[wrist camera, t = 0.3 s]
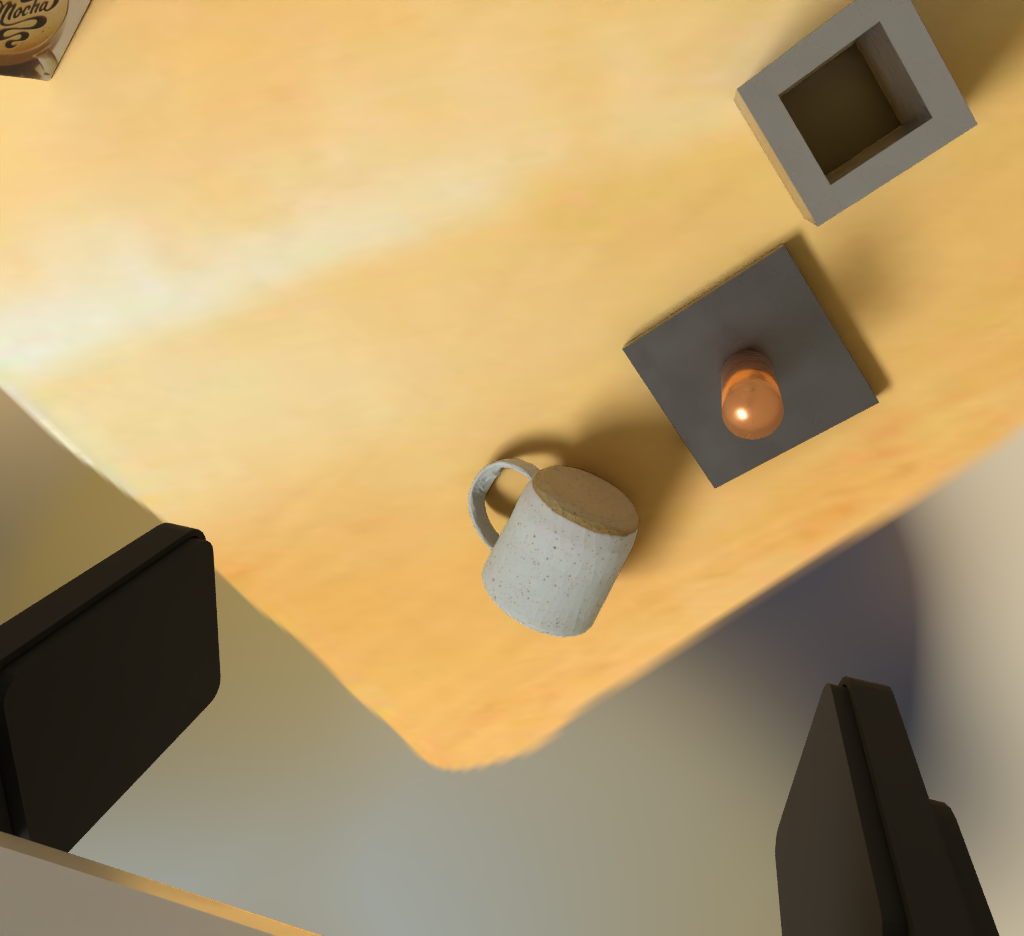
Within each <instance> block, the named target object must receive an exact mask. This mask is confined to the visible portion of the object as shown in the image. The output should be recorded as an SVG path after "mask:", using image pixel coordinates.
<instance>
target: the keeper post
mask: <svg viewBox="0 0 1024 936" xmlns="http://www.w3.org/2000/svg"><path fill="white" fill-rule="evenodd" d="M623 351H624V352H625V354H626V355H627V357H628V358H629V360H630V361H631V363H632V364H633V366H634V367H635V369H636V370H637V372H638V373H639V375H640V376H641V378H642V379H643V381H644V382H645V384H646V385H647V387H648V388H649V390H650V391H651V393H652V395H653V396H654V398H655V399H656V401H657V402H658V404H659V405H660V407H661V408H662V410H663V411H664V413H665V414H666V416H667V417H668V419H669V420H670V422H671V423H672V425H673V426H674V428H675V429H676V431H677V432H678V434H679V435H680V437H681V438H682V440H683V441H684V443H685V444H686V446H687V447H688V449H689V450H690V452H691V453H692V455H693V456H694V458H695V459H696V461H697V462H698V464H699V465H700V467H701V468H702V470H703V471H704V473H705V474H706V476H707V477H708V479H709V480H710V482H711V483H712V485H713V487H714V488H717V487H719V486H721V485H723V484H724V483H726V482H728V481H730V480H732V479H734V478H736V477H738V476H740V475H742V474H744V473H745V472H747V471H749V470H751V469H753V468H755V467H757V466H759V465H761V464H763V463H765V462H766V461H768V460H770V459H772V458H774V457H776V456H778V455H780V454H782V453H784V452H786V451H787V450H789V449H791V448H793V447H795V446H797V445H799V444H801V443H803V442H805V441H807V440H808V439H810V438H812V437H814V436H816V435H818V434H820V433H822V432H824V431H826V430H828V429H829V428H831V427H833V426H835V425H837V424H839V423H841V422H843V421H845V420H847V419H849V418H850V417H852V416H854V415H856V414H858V413H860V412H862V411H864V410H866V409H868V408H870V407H871V406H873V405H875V404H877V403H879V401H878V400H877V398H876V396H875V395H874V393H873V392H872V390H871V388H870V387H869V385H868V383H867V382H866V380H865V378H864V377H863V375H862V373H861V372H860V370H859V368H858V367H857V365H856V363H855V362H854V360H853V358H852V357H851V355H850V353H849V352H848V350H847V348H846V347H845V345H844V344H843V342H842V340H841V339H840V337H839V335H838V334H837V332H836V330H835V329H834V327H833V325H832V324H831V322H830V320H829V319H828V317H827V315H826V314H825V312H824V310H823V309H822V307H821V305H820V304H819V302H818V301H817V299H816V297H815V296H814V294H813V292H812V291H811V289H810V287H809V286H808V284H807V282H806V281H805V279H804V277H803V276H802V274H801V272H800V271H799V269H798V267H797V266H796V264H795V262H794V261H793V259H792V257H791V256H790V254H789V253H788V251H787V249H786V248H785V246H784V245H783V244H781V245H780V246H778V247H777V248H775V249H773V250H772V251H770V252H769V253H767V254H766V255H764V256H763V257H761V258H759V259H758V260H756V261H755V262H753V263H752V264H750V265H749V266H747V267H745V268H744V269H742V270H741V271H739V272H738V273H736V274H735V275H733V276H731V277H730V278H728V279H727V280H725V281H724V282H722V283H721V284H719V285H717V286H716V287H714V288H713V289H711V290H710V291H708V292H707V293H705V294H703V295H702V296H700V297H699V298H697V299H696V300H694V301H693V302H691V303H689V304H688V305H686V306H685V307H683V308H682V309H680V310H679V311H677V312H675V313H674V314H672V315H671V316H669V317H668V318H666V319H665V320H663V321H661V322H660V323H658V324H657V325H655V326H654V327H652V328H651V329H649V330H648V331H646V332H644V333H643V334H641V335H640V336H638V337H637V338H635V339H634V340H632V341H630V342H629V343H627V344H626V345H624V347H623Z"/></svg>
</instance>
